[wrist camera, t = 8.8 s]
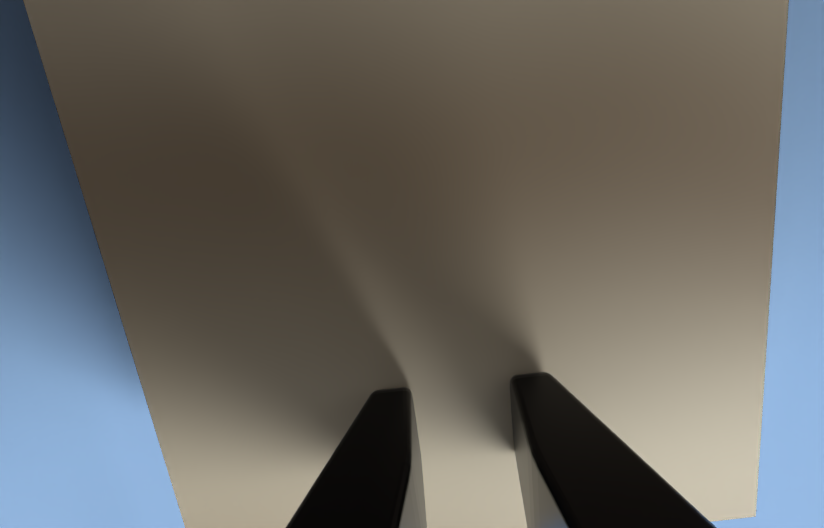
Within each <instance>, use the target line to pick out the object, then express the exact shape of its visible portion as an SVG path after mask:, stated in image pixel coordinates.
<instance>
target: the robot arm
mask: <svg viewBox="0 0 824 528" xmlns="http://www.w3.org/2000/svg"><path fill="white" fill-rule="evenodd" d="M510 399H511V415H512V428H513V440H514V450H515V456H516V462H517V469H518V475H519V481H520V487H521V493H522V499H523V505H524V511H525V517H526V523H527V528H716V527H715V526H714V525H713V524H712V523H711V522H710V521H709V520H708V519H707V518H706V517H704V516H703V515H702V514H701V513H700V512H699V511H698V510H697V509H696V508H695V507H694V506H693V505H692V504H690V503H689V502H688V501H687V500H686V499H685V498H684V497H683V496H682V495H681V494H680V493H679V492H677V491H676V490H675V489H674V488H673V487H672V486H671V485H670V484H669V483H668V482H667V481H666V480H665V479H663V478H662V477H661V476H660V475H659V474H658V473H657V472H656V471H655V470H654V469H653V468H652V467H650V466H649V465H648V464H647V463H646V462H645V461H644V460H643V459H642V458H641V457H640V456H639V455H638V454H636V453H635V452H634V451H633V450H632V449H631V448H630V447H629V446H628V445H627V444H626V443H625V442H623V441H622V440H621V439H620V438H619V437H618V436H617V435H616V434H615V433H614V432H613V431H612V430H611V429H609V428H608V427H607V426H606V425H605V424H604V423H603V422H602V421H601V420H600V419H599V418H598V417H597V416H595V415H594V414H593V413H592V412H591V411H590V410H589V409H588V408H587V407H586V406H585V405H584V404H582V403H581V402H580V401H579V400H578V399H577V398H576V397H575V396H574V395H573V394H572V393H571V392H570V391H568V390H567V389H566V388H565V387H564V386H563V385H562V384H561V383H560V382H559V381H558V380H557V379H555V378H554V377H553V376H552V375H551V374H549V373H547V372H538V373H529V374H520V375H514V376H513V377H512V378H511V380H510ZM286 528H427V521H426V509H425V496H424V484H423V471H422V460H421V451H420V444H419V437H418V429H417V422H416V415H415V409H414V402H413V396H412V392H411V390H410V389H409V388H407V387H400V388H391V389H382V390H376V391H374V392H373V393H371V395H370V396H369V397H368V399H367V401H366V402H365V404H364V405H363V407H362V408H361V410H360V412H359V413H358V415H357V416H356V418H355V419H354V421H353V423H352V424H351V426H350V427H349V429H348V430H347V432H346V434H345V435H344V437H343V438H342V440H341V441H340V443H339V445H338V446H337V448H336V449H335V451H334V452H333V454H332V456H331V457H330V459H329V460H328V462H327V463H326V465H325V467H324V468H323V470H322V471H321V473H320V474H319V476H318V478H317V479H316V481H315V482H314V484H313V485H312V487H311V489H310V490H309V492H308V493H307V495H306V496H305V498H304V500H303V501H302V503H301V504H300V506H299V507H298V509H297V511H296V512H295V514H294V515H293V517H292V518H291V520H290V522H289V523H288V525H287V526H286Z"/></svg>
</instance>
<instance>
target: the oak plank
mask: <svg viewBox="0 0 824 528" xmlns="http://www.w3.org/2000/svg"><path fill="white" fill-rule="evenodd" d="M23 2H24V5H25V8H26V11H27V15H28V18H29V21H30V24H31V28H32V31H33V34H34V37H35V41H36V44H37V47H38V50H39V54H40V57H41V60H42V63H43V67H44V70H45V73H46V76H47V80H48V83H49V86H50V89H51V93H52V96H53V99H54V102H55V106H56V109H57V112H58V115H59V119H60V122H61V125H62V128H63V132H64V135H65V138H66V141H67V145H68V148H69V151H70V154H71V158H72V161H73V164H74V167H75V171H76V174H77V177H78V180H79V184H80V187H81V190H82V193H83V197H84V200H85V203H86V206H87V210H88V213H89V216H90V219H91V223H92V226H93V229H94V232H95V236H96V239H97V242H98V245H99V249H100V252H101V255H102V258H103V262H104V265H105V268H106V271H107V275H108V278H109V281H110V284H111V288H112V291H113V294H114V297H115V301H116V304H117V307H118V310H119V314H120V317H121V320H122V323H123V327H124V330H125V333H126V336H127V340H128V343H129V346H130V349H131V353H132V356H133V359H134V362H135V366H136V369H137V372H138V375H139V379H140V382H141V385H142V388H143V392H144V395H145V398H146V401H147V405H148V408H149V411H150V414H151V418H152V421H153V424H154V427H155V431H156V434H157V437H158V440H159V444H160V447H161V450H162V453H163V457H164V460H165V463H166V466H167V470H168V473H169V476H170V479H171V483H172V486H173V489H174V492H175V496H176V499H177V502H178V505H179V509H180V512H181V515H182V518H183V522H184V525H185V528H286V526H287V525H288V523H289V522H290V520H291V518H292V517H293V515H294V514H295V512H296V511H297V509H298V507H299V506H300V504H301V503H302V501H303V500H304V498H305V496H306V495H307V493H308V492H309V490H310V489H311V487H312V485H313V484H314V482H315V481H316V479H317V478H318V476H319V474H320V473H321V471H322V470H323V468H324V467H325V465H326V463H327V462H328V460H329V459H330V457H331V456H332V454H333V452H334V451H335V449H336V448H337V446H338V445H339V443H340V441H341V440H342V438H343V437H344V435H345V434H346V432H347V430H348V429H349V427H350V426H351V424H352V423H353V421H354V419H355V418H356V416H357V415H358V413H359V412H360V410H361V408H362V407H363V405H364V404H365V402H366V401H367V399H368V397H369V396H370V395H371V393H373V392H374V391H376V390H382V389H391V388H400V387H407V388H409V389H410V390H411V392H412V396H413V402H414V409H415V415H416V422H417V429H418V437H419V444H420V451H421V460H422V471H423V484H424V496H425V509H426V521H427V528H527V523H526V517H525V511H524V505H523V499H522V493H521V487H520V481H519V475H518V469H517V462H516V456H515V450H514V440H513V428H512V415H511V399H510V380H511V378H512V377H513V376H514V375H520V374H529V373H538V372H547V373H549V374H551V375H552V376H553V377H554V378H555V379H557V380H558V381H559V382H560V383H561V384H562V385H563V386H564V387H565V388H566V389H567V390H568V391H570V392H571V393H572V394H573V395H574V396H575V397H576V398H577V399H578V400H579V401H580V402H581V403H582V404H584V405H585V406H586V407H587V408H588V409H589V410H590V411H591V412H592V413H593V414H594V415H595V416H597V417H598V418H599V419H600V420H601V421H602V422H603V423H604V424H605V425H606V426H607V427H608V428H609V429H611V430H612V431H613V432H614V433H615V434H616V435H617V436H618V437H619V438H620V439H621V440H622V441H623V442H625V443H626V444H627V445H628V446H629V447H630V448H631V449H632V450H633V451H634V452H635V453H636V454H638V455H639V456H640V457H641V458H642V459H643V460H644V461H645V462H646V463H647V464H648V465H649V466H650V467H652V468H653V469H654V470H655V471H656V472H657V473H658V474H659V475H660V476H661V477H662V478H663V479H665V480H666V481H667V482H668V483H669V484H670V485H671V486H672V487H673V488H674V489H675V490H676V491H677V492H679V493H680V494H681V495H682V496H683V497H684V498H685V499H686V500H687V501H688V502H689V503H690V504H692V505H693V506H694V507H695V508H696V509H697V510H698V511H699V512H700V513H701V514H702V515H703V516H704V517H706V518H707V519H708V520H709V521H710V522H711V521H720V520H729V519H738V518H747V517H756V502H757V486H758V471H759V455H760V440H761V424H762V408H763V393H764V377H765V362H766V346H767V330H768V315H769V299H770V284H771V268H772V252H773V237H774V221H775V206H776V190H777V174H778V159H779V143H780V128H781V112H782V97H783V81H784V65H785V50H786V34H787V19H788V3H789V0H23Z"/></svg>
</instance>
